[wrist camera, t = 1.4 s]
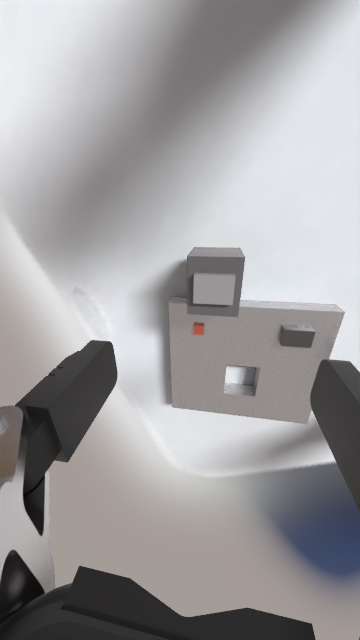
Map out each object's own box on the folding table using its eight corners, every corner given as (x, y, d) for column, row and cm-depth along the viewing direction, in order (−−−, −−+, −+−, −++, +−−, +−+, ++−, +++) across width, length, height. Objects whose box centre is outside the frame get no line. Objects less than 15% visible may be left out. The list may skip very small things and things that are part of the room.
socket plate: (171, 296, 27) (166, 305, 24) (335, 304, 24) (348, 315, 21) (174, 396, 34) (170, 411, 31) (301, 411, 31) (308, 429, 28)
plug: (196, 244, 24) (186, 257, 17) (238, 245, 23) (245, 258, 16) (195, 289, 26) (186, 316, 19) (233, 291, 25) (238, 320, 18)
